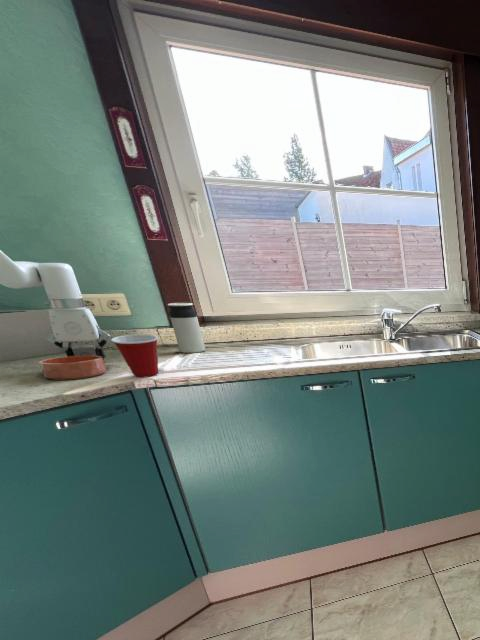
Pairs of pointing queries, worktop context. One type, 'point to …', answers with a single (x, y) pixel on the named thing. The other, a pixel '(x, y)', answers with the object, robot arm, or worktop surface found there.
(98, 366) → the bowl
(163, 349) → the worktop surface
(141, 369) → the plastic cup
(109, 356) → the worktop surface
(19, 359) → the worktop surface
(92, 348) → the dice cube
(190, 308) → the travel mug
